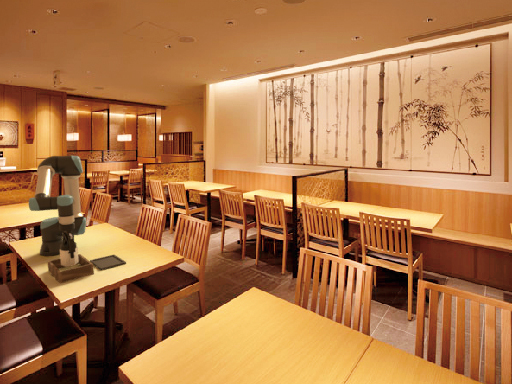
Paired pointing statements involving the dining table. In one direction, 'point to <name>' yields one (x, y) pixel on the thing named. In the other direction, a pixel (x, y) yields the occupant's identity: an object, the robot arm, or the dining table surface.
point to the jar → (67, 255)
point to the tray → (107, 262)
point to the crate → (72, 273)
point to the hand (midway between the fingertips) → (70, 261)
